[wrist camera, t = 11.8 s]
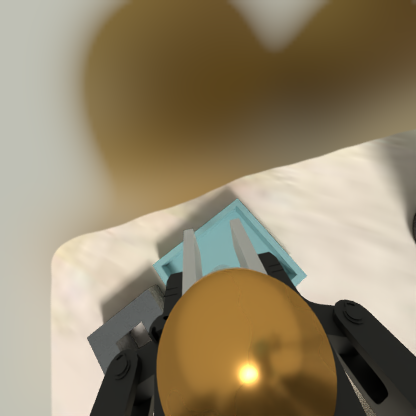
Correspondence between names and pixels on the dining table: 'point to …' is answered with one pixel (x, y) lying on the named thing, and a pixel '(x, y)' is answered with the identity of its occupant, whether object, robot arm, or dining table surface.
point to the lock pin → (244, 350)
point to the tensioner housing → (126, 326)
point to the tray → (228, 245)
